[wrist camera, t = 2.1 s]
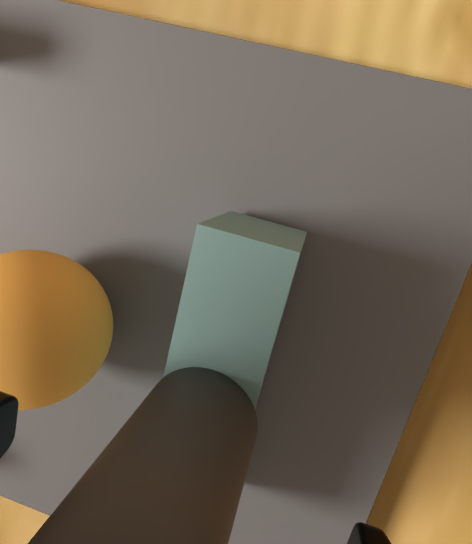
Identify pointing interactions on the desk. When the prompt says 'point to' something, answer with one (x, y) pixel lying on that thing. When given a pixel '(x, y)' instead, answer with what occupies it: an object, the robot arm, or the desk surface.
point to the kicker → (193, 401)
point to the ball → (50, 327)
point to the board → (249, 201)
